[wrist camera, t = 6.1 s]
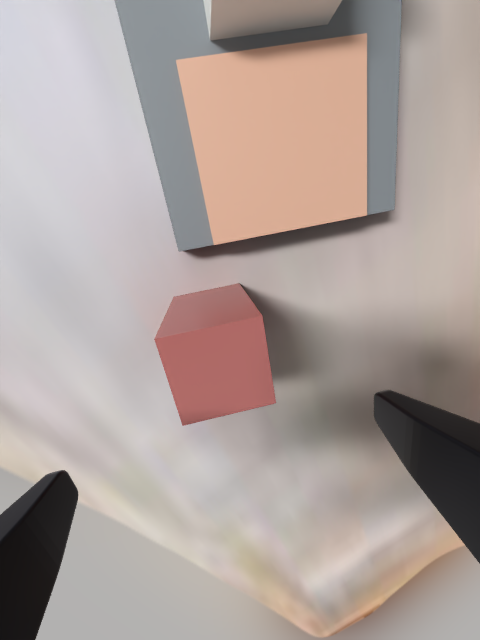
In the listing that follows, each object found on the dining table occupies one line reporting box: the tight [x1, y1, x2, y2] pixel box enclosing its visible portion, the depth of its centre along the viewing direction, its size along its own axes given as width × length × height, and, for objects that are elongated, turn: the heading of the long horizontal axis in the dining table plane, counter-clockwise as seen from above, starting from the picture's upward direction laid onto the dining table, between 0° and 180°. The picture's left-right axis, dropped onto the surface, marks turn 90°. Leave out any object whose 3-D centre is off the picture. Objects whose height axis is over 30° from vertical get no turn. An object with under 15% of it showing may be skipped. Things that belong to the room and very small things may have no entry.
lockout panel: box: [115, 0, 402, 251], centre depth 11 cm, size 13×16×4 cm
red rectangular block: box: [155, 284, 276, 425], centre depth 14 cm, size 4×4×7 cm
